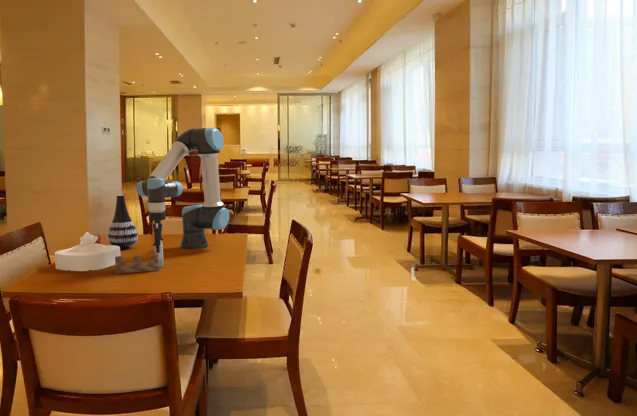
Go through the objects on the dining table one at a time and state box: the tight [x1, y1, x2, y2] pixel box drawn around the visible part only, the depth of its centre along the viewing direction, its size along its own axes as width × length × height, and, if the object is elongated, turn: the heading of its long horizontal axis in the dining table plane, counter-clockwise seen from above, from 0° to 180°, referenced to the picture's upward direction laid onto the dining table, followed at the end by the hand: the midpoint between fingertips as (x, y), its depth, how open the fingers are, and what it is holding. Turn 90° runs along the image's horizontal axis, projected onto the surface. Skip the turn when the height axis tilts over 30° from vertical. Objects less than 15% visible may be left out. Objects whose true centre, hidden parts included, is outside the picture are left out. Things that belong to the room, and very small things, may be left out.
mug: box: [90, 233, 102, 244], centre depth 272 cm, size 12×9×10 cm
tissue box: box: [54, 231, 121, 272], centre depth 249 cm, size 25×25×16 cm
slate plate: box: [159, 241, 164, 268], centre depth 245 cm, size 10×3×10 cm, turn 15°
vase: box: [106, 194, 139, 251], centre depth 289 cm, size 16×16×30 cm
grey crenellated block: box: [114, 253, 160, 274], centre depth 234 cm, size 18×3×7 cm, turn 105°
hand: (158, 256), depth 245 cm, fingers open, 13 cm apart
